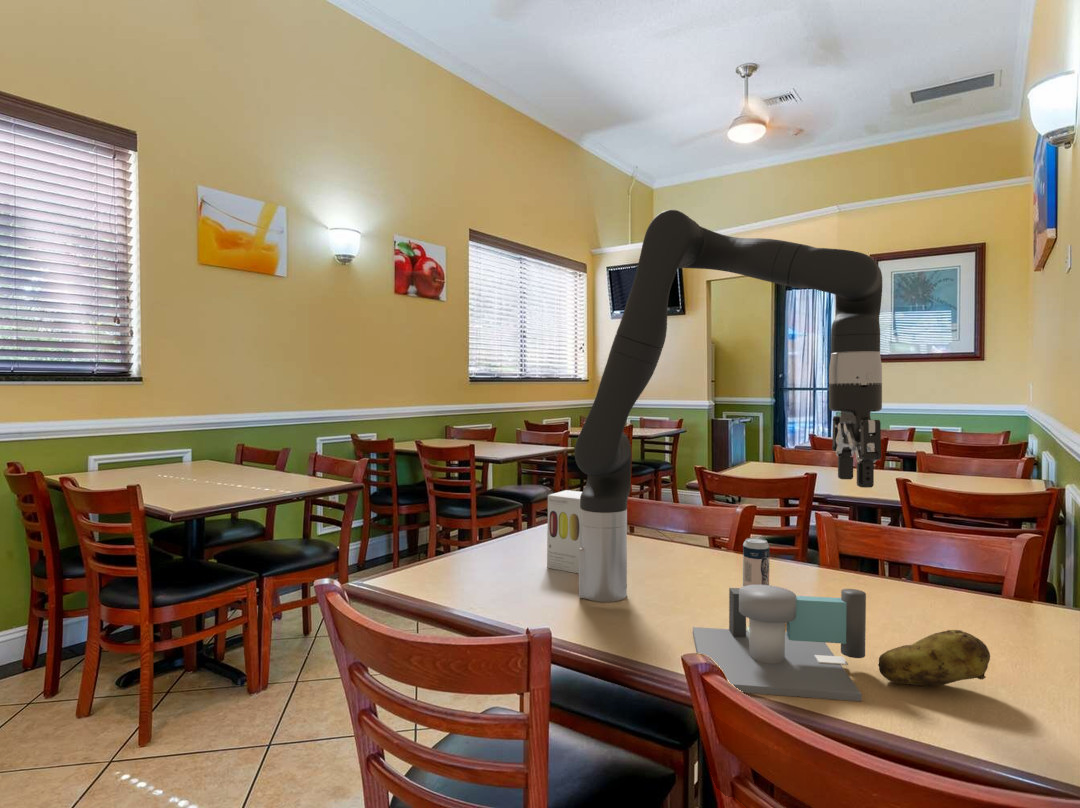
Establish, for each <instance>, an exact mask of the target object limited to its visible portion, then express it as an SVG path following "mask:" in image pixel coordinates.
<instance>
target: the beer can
mask: <svg viewBox="0 0 1080 808" xmlns="http://www.w3.org/2000/svg"><path fill="white" fill-rule="evenodd" d="M742 551H743V552H742V587H743V586H747V585H770V545H769V544H768V541H767V540H766V539H764V538H756V537H747V538H746V539H745V540H744V541H743V544H742Z"/></svg>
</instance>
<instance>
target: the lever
mask: <svg viewBox="0 0 1080 808" xmlns="http://www.w3.org/2000/svg"><path fill="white" fill-rule="evenodd" d="M739 588H740V589H739V612H740V613H741V614H742V615H743V616H745V617H746V619H749V618H750V619H753V620H756V621H761V622H768V623H785V624H786V633H787V637H788V638H789V640H793V641H809V642H825V643H826V644H829V643H830V644H840V654H842V655H844V656H845V657H849V658H853V659H864V658H865V657H866V630H867V629H866V617H867V615H866V614H867V613H866V612H867V611H866V610H867V609H866V608H867V607H866V605H867V602H866V601H867V594H866V592H865V591H863V590H860V589H857V588H843V589H841V591H840V595H841V596H840V597H828V596H813V595H812V596H809V595H808V596H806V595H796V593H795V592H793V591H792V590H790V589H787V588H784V587H780V586H776V585H770V584H769V585H747V586H743V585H742V586H741V587H739Z"/></svg>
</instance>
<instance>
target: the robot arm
mask: <svg viewBox="0 0 1080 808" xmlns="http://www.w3.org/2000/svg"><path fill="white" fill-rule="evenodd" d="M678 269H700V270H713V271H722V272H725V273H727V272H728V273H733V274H735V275H736V274H737V275H741V276H746V277H749V278H753V279H757V280H761V281H764V282H768V283H769V282H770V283H772V284H778V285H782V286H787V287H790V288H797V289H808V288H809V289H812V290H817V291H820V292H824V293H828V294H832V295H834V296H835V304H834V305H835V309H834V310H835V311H834V312H835V315H834V316H835V318H834V320H833V322H832V324H831V331H830V361H829V367H828V375H829V376H828V378H829V379H828V382H829V384H828V387H829V388H828V390H829V391H828V393H829V394H828V397H829V398H828V405H829V406H828V408H829V410H830V411H831V412H840V416H839V415H837V416H836V415H835V416H834V415H833V417H832V445H831V449H832V451H833V452H835V455H836V457H837V478H838V479H840V480H853V478H854V454H855V458H856V486H857V487H859V488H864V489H865V488H869V489H871V488H872V487H874V481H875V480H874V471H875V470H874V469H875V467H874V466H875V465H874V464H875V463H876V462H877V461H878V460H879V461H880V460H881V459H882V433H881V432H882V429H881V427H882V426H881V420H880V419H871V413H872V412H880V411H881V410H883V409H882V407H883V365H882V359H881V326H880V325H881V324H880V314H881V306H882V297H883V275H882V274H883V273H882V270H881V268H880V266H879V265H878V264H877V262H876V261H875V260H874V259H873V258H872V257H871V256H870V255H868V254H865V253H863V252H859V251H855V250H847V249H842V248H841V249H840V248H827V247H826V248H825V247H816V246H811V245H807V244H801V243H798V242H792V241H789V240H788V241H785V240H782V239H774V238H761V237H760V238H758V237H757V238H754V237H753V238H751V237H750V238H747V237H745V238H744V237H736V236H730V235H725V234H721V233H718V232H716V231H713V230H710V229H708V228H706V227H703V226H700V225H699V224H698V223H697V222H696V221H695V220H694V219H692V218H690V217H689V215H687V214H685V213H684V212H682V211H680V210H677V209H668V210H663V211H661V212H660V213H658V214H657V215H656V216H655V217H654V218H653V219H652V220H651V222H650V223H649V225H648V227H647V229H646V231H645V235H644V238H643V242H642V245H641V250H640V256H639V259H638V263H637V269H636V272H635V276H634V280H633V282H632V283H633V284H632V286H631V290H630V292H629V295H628V298H627V301H626V304H625V307H624V311H623V314H622V316H621V319H620V323H619V324H618V327H617V331H616V332H615V336H614V338H613V341H612V344H611V347H610V351H609V353H608V358H607V361H606V364H605V367H604V370H603V372H602V376H601V378H600V379H601V380H600V382H599V385H598V388H597V391H596V396H595V398H594V401H593V404H592V406H591V407H590V410H589V413H588V414H587V417H586V419H585V421H584V424H583V425H582V428H581V430H580V432H579V435H578V436H577V439H576V442H575V445H574V458H575V462H576V465H577V467H578V468H579V469H580V471H581V472H582V473H584V474H586V475H587V480H586V484H585V487H584V488H583V491H581V492H582V494H581V497H580V548H579V574H578V598H579V599H586V600H589V601H594V602H602V603H605V602H606V603H610V602H617V601H621V600H622V601H623V600H624V599H626V597H627V595H628V590H627V589H628V581H627V580H628V579H627V578H628V576H627V575H628V500H629V499H628V498H629V495H630V492H631V482H632V481H631V478H632V449H631V443H630V440H629V438H628V436H627V435H626V434H625V433H624V430H625V427H626V423H627V421H628V418H629V416H630V415H629V414H630V413H631V411H632V409H633V407H634V405H635V403H636V402H637V400H638V399H639V398H640V396H641V395H642V394H643V392H644V390H645V389H646V387H647V385H648V384H649V383H650V380H651V379H652V377H653V374H654V373H655V370H656V367H658V363H659V360H660V357H661V356H662V355H661V354H662V351H663V348H664V345H665V343H666V338H667V330H668V312H669V311H668V310H669V309H668V308H669V306H668V305H669V298H670V292H671V288H672V285H673V282H674V280H675V276H676V274H677V272H678Z"/></svg>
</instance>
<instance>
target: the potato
mask: <svg viewBox="0 0 1080 808" xmlns="http://www.w3.org/2000/svg"><path fill="white" fill-rule="evenodd" d="M990 660H991V654H990V651H989V648H988V647H987V645H986V643H985V642H984V641H983V640H981V639H980V638H979V637H976V636H974V635H972V634H971V633H968V632H966V631H962V630H961V629H960V630H959V629H948V630H947V629H946V630H945V631H943V630H942V631H939V632H936V633H933V634H930V635H928V636H925V637H923V638H921V639H920V640H919V639H918V641H916V642H914V643H912V644H906V645H902V646H898V647H895V648H891V649H888V650H887V651H885V652H883V653H881V655H879V657H878V670H879V673H880V674H881V676H883V677H884V678H886V680H888V681H890V682H892V683H895V684H897V685H907V684H909V685H915V686H922V687H923V686H927V687H934V686H935V687H936V686H944V685H948V684H951V683H955V682H959V681H964V680H965V681H966V680H972V679H978V680H984V679H985V678H986V675H985V674H986V672H987V671H988V668H989V667H988V666H989V663H990Z"/></svg>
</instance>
